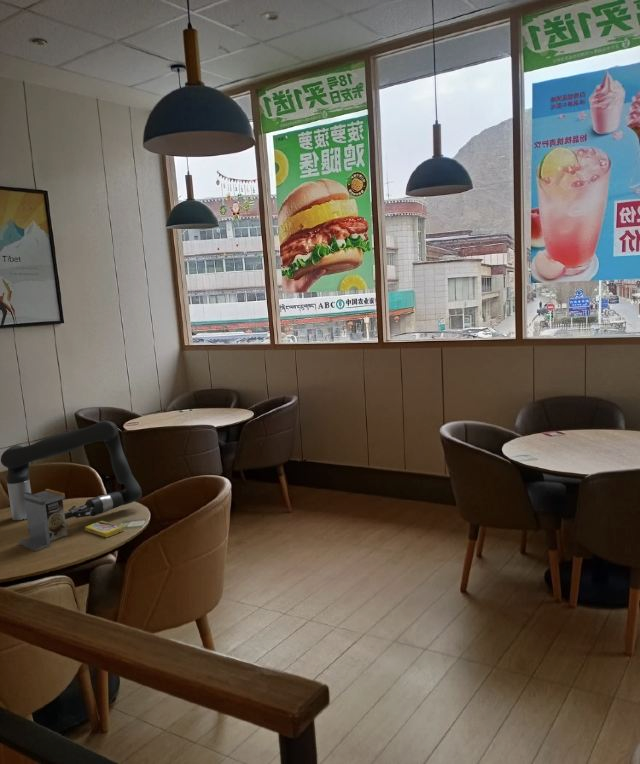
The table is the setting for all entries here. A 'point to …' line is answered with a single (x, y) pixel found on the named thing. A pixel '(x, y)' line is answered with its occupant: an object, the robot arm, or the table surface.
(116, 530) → the candy box
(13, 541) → the table surface
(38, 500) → the grey metal stand
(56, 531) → the coffee box
